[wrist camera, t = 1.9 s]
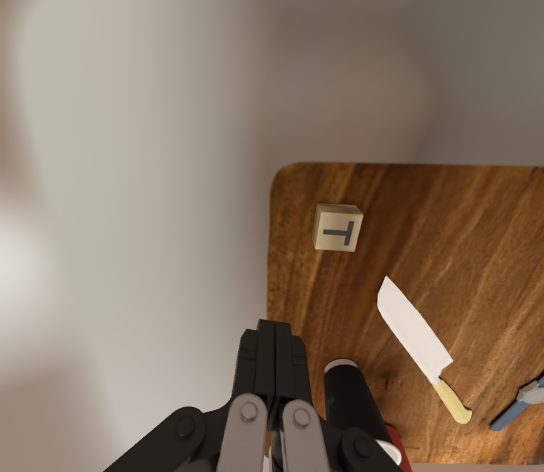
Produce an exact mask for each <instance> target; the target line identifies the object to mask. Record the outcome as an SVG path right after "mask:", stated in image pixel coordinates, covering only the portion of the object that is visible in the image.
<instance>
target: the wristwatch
mask: <svg viewBox="0 0 544 472" xmlns="http://www.w3.org/2000/svg"><path fill="white" fill-rule="evenodd" d="M516 399H517V401H516V402H515V403H514V404H513V405H512V406H511V407H510V408H509V409H508V410H507V411H506V412H505V413H504V414H503V415H502V416H501V417H500V418H499V419H498V420H497V421H496V422H495V423H493V424H492V425H491V426H490V429H491V430H493V431H500V430H502V429H503V428H504V427H505V426H506V425H508V424H509V423H510V422H511V421H512V420H513V419H514V418H515V417H517V416H518V415H519V414H520V413H521V412H522V411H523V410H524V409H526V408H527V407H528V406H529V405H530V404H538V403H542V402H544V375H543V376H542V377H541V378H540V379H539V380H538V381H534V382H532V383H531V384H529V385H527V386H525V387H523V388H522V389H520V390H519V394H518V396H517V398H516Z"/></svg>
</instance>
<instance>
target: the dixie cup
mask: <svg viewBox="0 0 544 472" xmlns="http://www.w3.org/2000/svg"><path fill="white" fill-rule="evenodd" d="M324 389H325V405H326V420H327V422H328V423H330V424H332V425H334V426H336V427H338V428H340V429H342V430H344V431H346V430H347V429H348V428H350V427H359V428H362V429H364V430H365V431H367V432H368V433H369V434H371V435H372V437H373V438H374V439H375V440H376V441H377V442H378V443H379V444H380V446H381V447H382V448H383V449H384V450H385V451H386V452H387V453H388V455H389V456H390V457H391V458H392V459H393V460H394V461H395V462H396V464H397V465H398V466H399V464H400V462H401V453H400V451H399V450H398V448H396V447H395V445H394V443H393V441H392V439H391V436H390V434H389V432H388V430H387V427H386V425H385V423H384V421H383V419H382V416H381V414H380V412H379V410H378V407H377V405H376V403H375V401H374V399H373V396H372V394H371V392H370V390H369V387H368V385H367V383H366V381H365V378H364V376H363V374H362V372H361V370H360V369H359V368H358V367H357V365H356V363H354V362H353V361H351V360H348V359H338V360H335V361H332V362H330V363H329V364H328V365H327V366H326V368H325V375H324Z"/></svg>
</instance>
